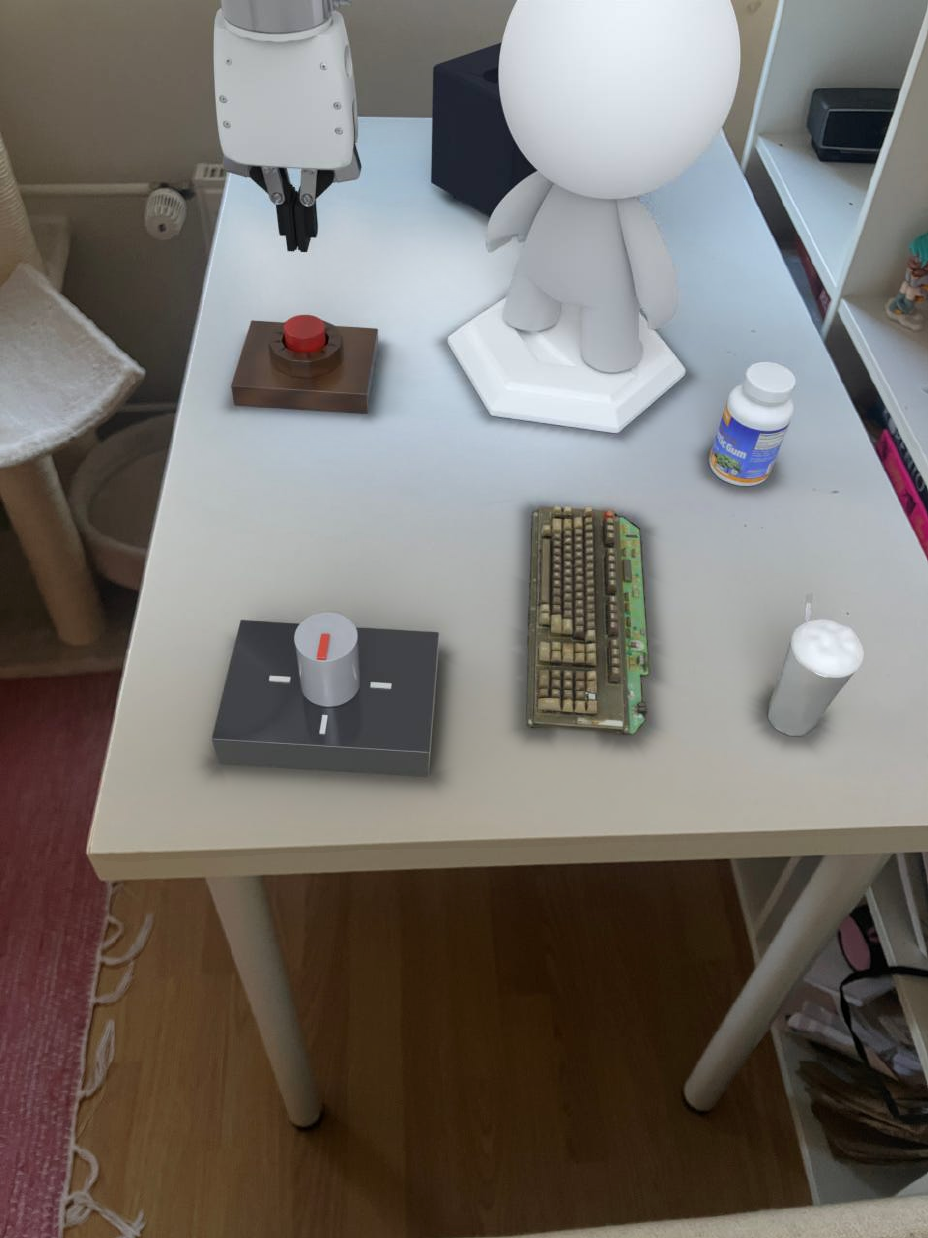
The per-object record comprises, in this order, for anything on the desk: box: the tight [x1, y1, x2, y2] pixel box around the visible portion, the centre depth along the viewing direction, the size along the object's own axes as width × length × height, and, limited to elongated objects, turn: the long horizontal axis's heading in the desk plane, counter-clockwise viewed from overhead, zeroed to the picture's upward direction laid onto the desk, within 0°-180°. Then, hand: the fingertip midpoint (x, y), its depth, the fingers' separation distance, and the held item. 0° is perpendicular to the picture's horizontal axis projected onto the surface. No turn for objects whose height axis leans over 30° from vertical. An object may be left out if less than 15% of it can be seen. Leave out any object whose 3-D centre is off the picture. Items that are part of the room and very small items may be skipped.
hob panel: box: [211, 619, 440, 777], centre depth 68 cm, size 14×10×3 cm
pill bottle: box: [708, 361, 797, 487], centre depth 84 cm, size 5×5×10 cm
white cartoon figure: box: [447, 0, 741, 434], centre depth 83 cm, size 20×23×35 cm
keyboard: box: [526, 504, 650, 735], centre depth 75 cm, size 22×9×2 cm, turn 176°
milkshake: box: [767, 593, 865, 737], centre depth 67 cm, size 4×5×10 cm
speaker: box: [430, 41, 538, 218], centre depth 112 cm, size 22×13×15 cm, turn 133°
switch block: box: [230, 319, 379, 414], centre depth 92 cm, size 12×10×4 cm
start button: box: [284, 314, 326, 353], centre depth 90 cm, size 4×4×2 cm
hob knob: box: [294, 611, 360, 707], centre depth 65 cm, size 4×4×5 cm
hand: (299, 242), depth 83 cm, fingers closed
